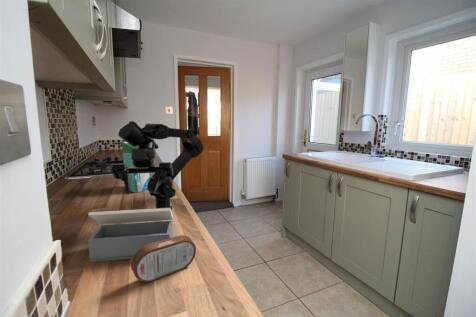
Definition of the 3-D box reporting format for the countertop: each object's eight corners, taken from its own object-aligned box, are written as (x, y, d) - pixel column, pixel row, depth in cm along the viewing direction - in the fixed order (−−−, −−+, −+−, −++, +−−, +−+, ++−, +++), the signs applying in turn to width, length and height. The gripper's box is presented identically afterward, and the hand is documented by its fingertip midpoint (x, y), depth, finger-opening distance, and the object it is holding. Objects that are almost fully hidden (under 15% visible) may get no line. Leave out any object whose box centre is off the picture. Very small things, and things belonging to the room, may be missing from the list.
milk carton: (136, 192, 115) (132, 142, 111) (125, 189, 120) (121, 141, 116) (151, 188, 123) (148, 141, 119) (140, 185, 128) (137, 140, 123)
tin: (192, 259, 62) (192, 229, 60) (198, 265, 59) (197, 234, 58) (131, 282, 53) (129, 248, 52) (135, 290, 50) (132, 254, 49)
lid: (100, 224, 67) (101, 221, 68) (173, 219, 71) (173, 217, 71) (88, 215, 60) (88, 212, 60) (170, 210, 63) (170, 207, 64)
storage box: (103, 244, 68) (101, 225, 67) (173, 238, 72) (172, 220, 71) (90, 261, 60) (87, 240, 59) (170, 254, 63) (169, 234, 62)
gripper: (109, 139, 73) (99, 182, 65) (170, 138, 77) (168, 179, 68) (119, 159, 82) (111, 199, 74) (173, 157, 86) (172, 196, 77)
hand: (140, 193), depth 73 cm, fingers open, 7 cm apart
